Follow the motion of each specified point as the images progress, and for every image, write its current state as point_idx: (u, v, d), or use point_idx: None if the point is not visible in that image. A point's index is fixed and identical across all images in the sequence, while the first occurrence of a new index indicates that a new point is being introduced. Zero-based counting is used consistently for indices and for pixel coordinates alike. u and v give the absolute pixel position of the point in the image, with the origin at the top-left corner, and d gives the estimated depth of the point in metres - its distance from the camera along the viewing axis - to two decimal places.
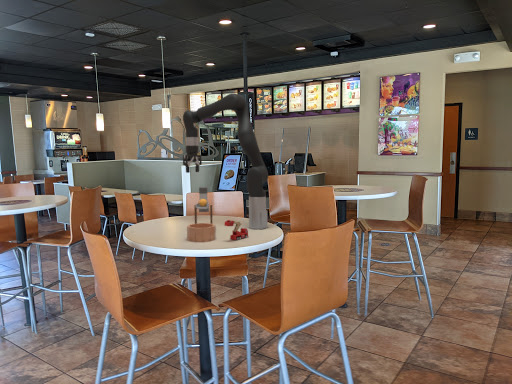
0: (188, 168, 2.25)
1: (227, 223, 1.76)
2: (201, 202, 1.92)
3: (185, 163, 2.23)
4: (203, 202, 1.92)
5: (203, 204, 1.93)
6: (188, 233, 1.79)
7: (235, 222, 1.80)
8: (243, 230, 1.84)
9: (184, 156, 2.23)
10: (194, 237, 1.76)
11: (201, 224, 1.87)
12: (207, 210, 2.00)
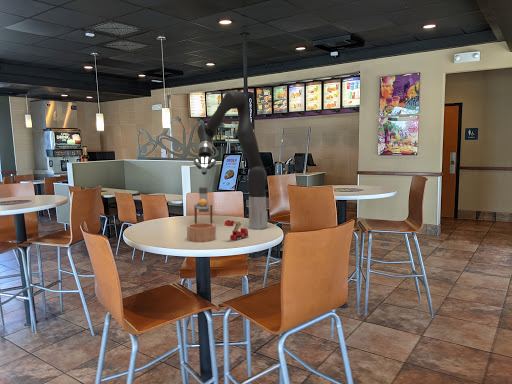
0: None
1: (227, 223, 1.76)
2: (201, 202, 1.92)
3: (210, 167, 2.10)
4: (203, 202, 1.92)
5: (203, 204, 1.93)
6: (188, 233, 1.79)
7: (235, 222, 1.80)
8: (243, 230, 1.84)
9: (215, 162, 2.12)
10: (194, 237, 1.76)
11: (201, 224, 1.87)
12: (207, 210, 2.00)
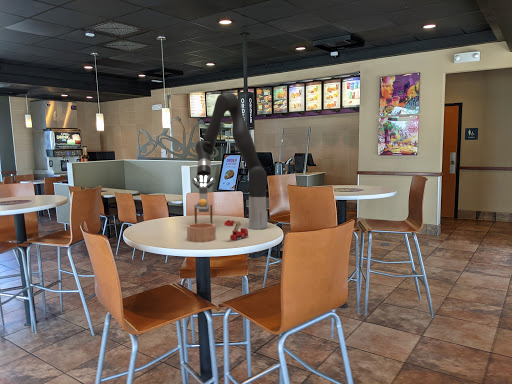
0: None
1: (227, 223, 1.76)
2: (201, 202, 1.92)
3: None
4: (203, 202, 1.92)
5: (203, 204, 1.93)
6: (188, 233, 1.79)
7: (235, 222, 1.80)
8: (243, 230, 1.84)
9: (214, 181, 2.05)
10: (194, 237, 1.76)
11: (201, 224, 1.87)
12: (207, 210, 2.00)
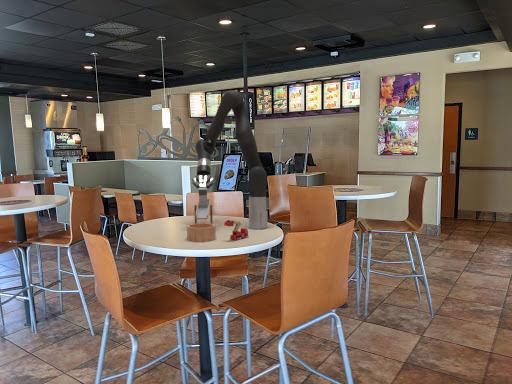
0: None
1: (227, 223, 1.76)
2: None
3: (209, 186, 2.00)
4: None
5: None
6: (188, 233, 1.79)
7: (235, 222, 1.80)
8: (243, 230, 1.84)
9: (214, 181, 2.01)
10: (194, 237, 1.76)
11: (201, 224, 1.87)
12: None
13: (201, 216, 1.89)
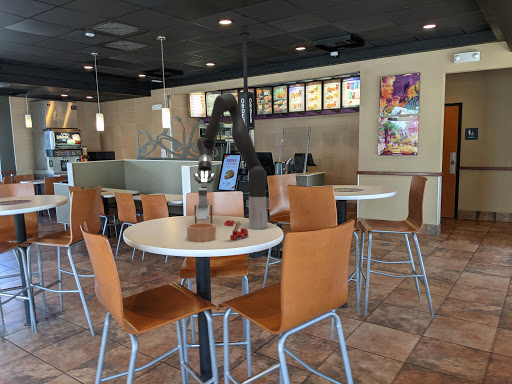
0: None
1: (227, 223, 1.76)
2: None
3: (210, 181, 2.08)
4: None
5: None
6: (188, 233, 1.79)
7: (235, 222, 1.80)
8: (243, 230, 1.84)
9: (215, 176, 2.10)
10: (194, 237, 1.76)
11: (201, 224, 1.87)
12: None
13: (201, 217, 1.89)
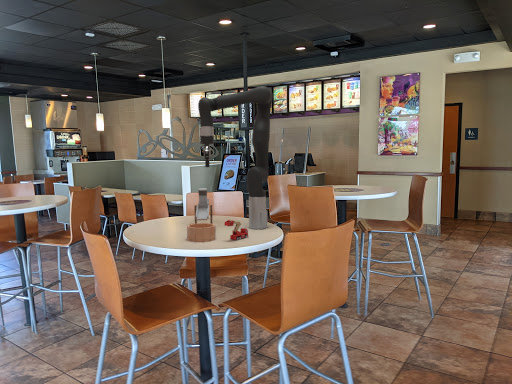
0: None
1: (227, 223, 1.76)
2: None
3: None
4: None
5: None
6: (188, 233, 1.79)
7: (235, 222, 1.80)
8: (243, 230, 1.84)
9: None
10: (194, 237, 1.76)
11: (201, 224, 1.87)
12: None
13: (201, 217, 1.89)
